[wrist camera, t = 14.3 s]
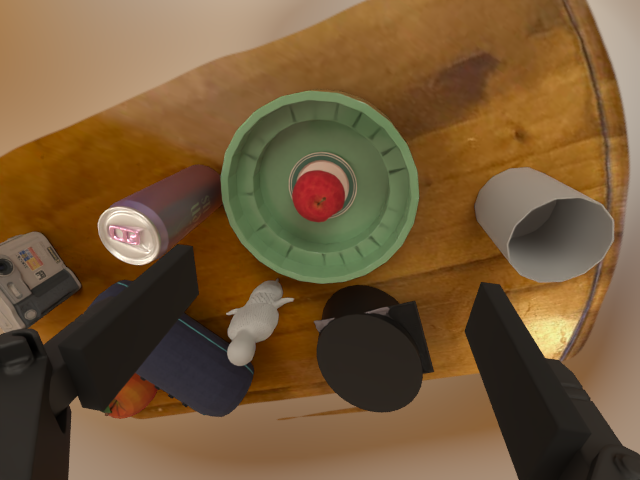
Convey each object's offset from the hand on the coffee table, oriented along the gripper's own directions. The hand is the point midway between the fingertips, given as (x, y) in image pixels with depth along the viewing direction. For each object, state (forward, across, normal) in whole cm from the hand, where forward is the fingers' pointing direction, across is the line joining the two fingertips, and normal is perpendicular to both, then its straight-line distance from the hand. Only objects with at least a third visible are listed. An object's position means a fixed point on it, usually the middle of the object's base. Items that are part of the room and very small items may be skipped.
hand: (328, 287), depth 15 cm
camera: (+25, -45, -20) cm, 55 cm away
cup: (+26, +18, -3) cm, 32 cm away
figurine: (+26, -10, -18) cm, 33 cm away
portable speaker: (+25, -24, -29) cm, 45 cm away
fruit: (+25, -34, -40) cm, 58 cm away
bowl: (+25, -4, -3) cm, 26 cm away
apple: (+25, -3, -3) cm, 25 cm away
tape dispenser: (+26, +5, -25) cm, 36 cm away
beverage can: (+25, -18, -5) cm, 32 cm away
